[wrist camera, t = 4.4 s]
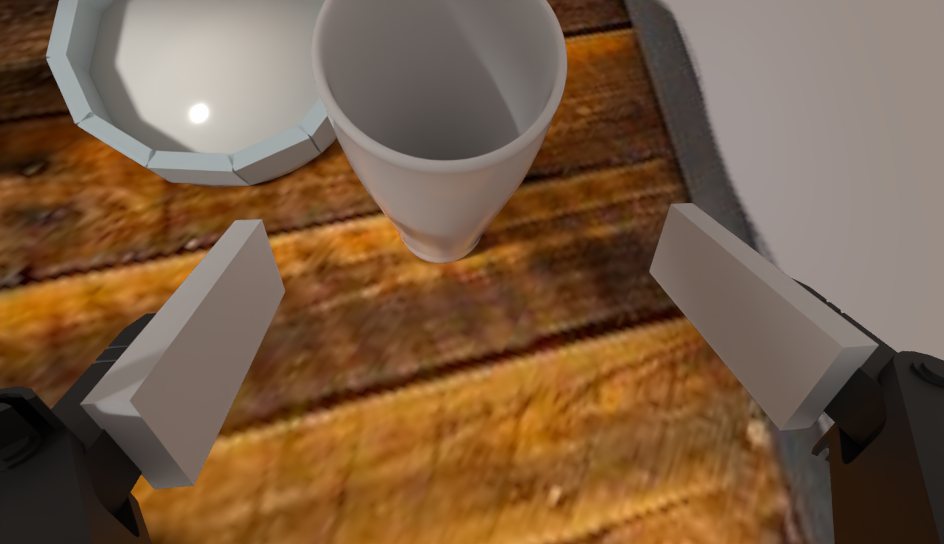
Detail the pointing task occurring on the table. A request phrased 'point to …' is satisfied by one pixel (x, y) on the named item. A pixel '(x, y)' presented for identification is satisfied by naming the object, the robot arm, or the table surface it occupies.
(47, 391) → the table surface
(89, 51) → the dish
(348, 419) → the table surface
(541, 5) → the drinking glass
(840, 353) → the robot arm
